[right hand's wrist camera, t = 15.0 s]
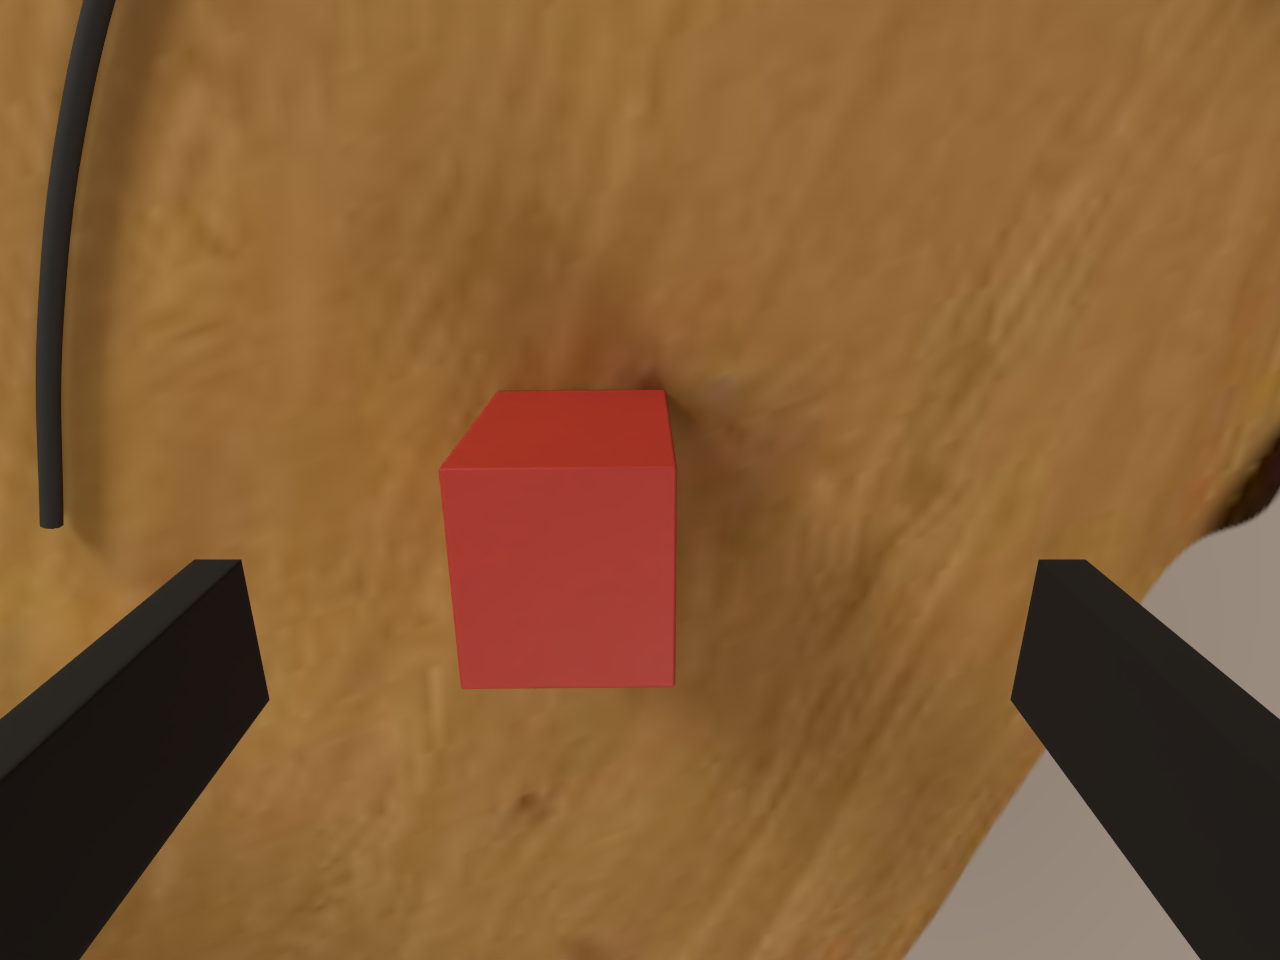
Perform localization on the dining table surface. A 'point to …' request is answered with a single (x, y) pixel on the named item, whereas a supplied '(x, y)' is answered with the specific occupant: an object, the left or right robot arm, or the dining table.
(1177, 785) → the right robot arm
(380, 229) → the dining table surface
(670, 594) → the block
